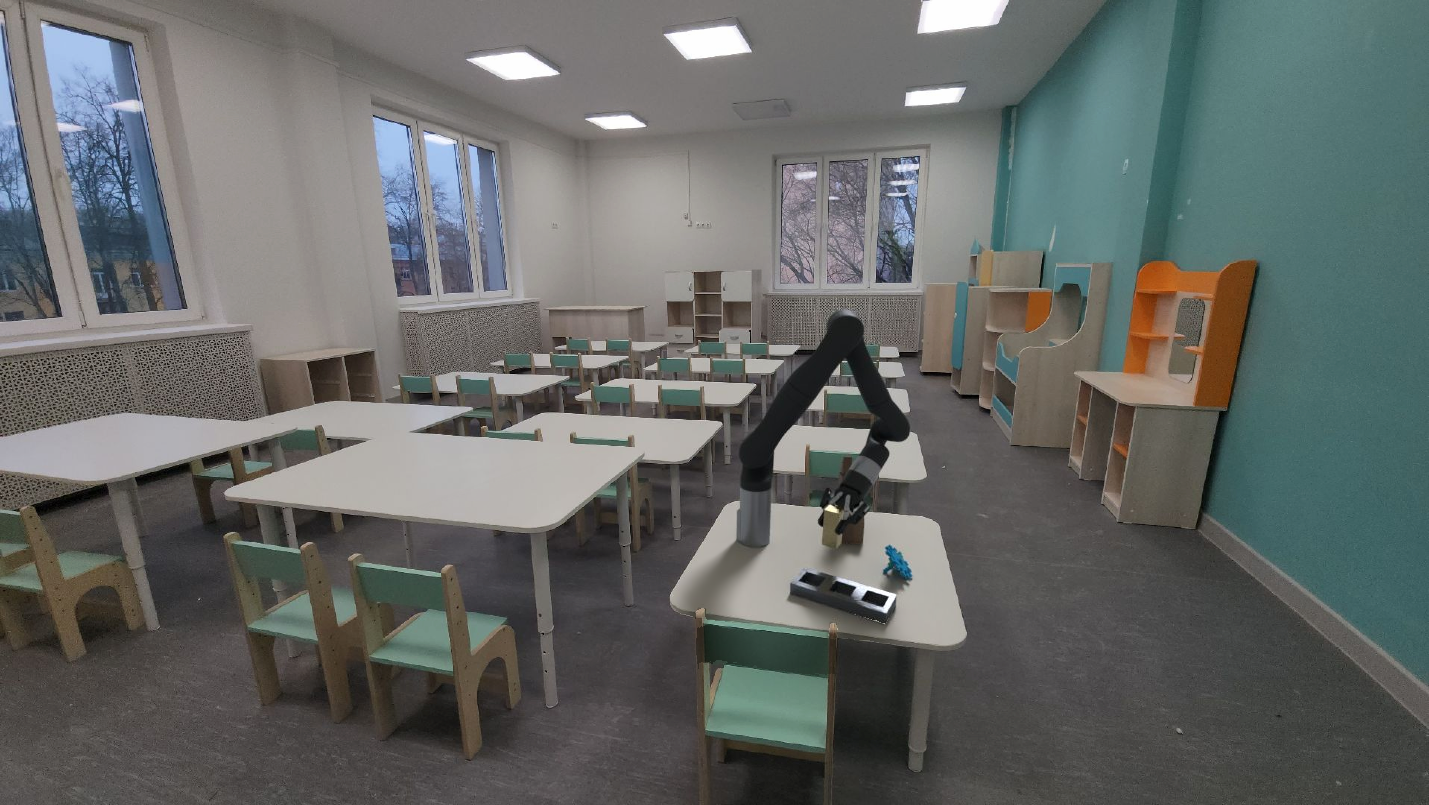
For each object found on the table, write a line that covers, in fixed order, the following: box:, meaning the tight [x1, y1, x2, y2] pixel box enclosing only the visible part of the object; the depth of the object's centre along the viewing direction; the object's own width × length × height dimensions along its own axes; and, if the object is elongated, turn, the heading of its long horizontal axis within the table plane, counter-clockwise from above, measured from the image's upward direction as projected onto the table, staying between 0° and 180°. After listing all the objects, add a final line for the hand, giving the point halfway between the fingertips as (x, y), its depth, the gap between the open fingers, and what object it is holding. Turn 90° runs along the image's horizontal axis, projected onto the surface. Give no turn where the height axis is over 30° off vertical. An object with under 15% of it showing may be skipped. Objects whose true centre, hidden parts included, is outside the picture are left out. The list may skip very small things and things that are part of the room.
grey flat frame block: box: [789, 566, 898, 624], centre depth 142 cm, size 24×9×3 cm, turn 58°
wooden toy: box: [834, 455, 865, 545], centre depth 175 cm, size 15×7×25 cm, turn 178°
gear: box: [882, 544, 913, 580], centre depth 155 cm, size 11×6×10 cm
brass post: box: [821, 504, 844, 549], centre depth 152 cm, size 4×4×10 cm
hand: (828, 529), depth 151 cm, fingers closed on brass post, 5 cm apart
